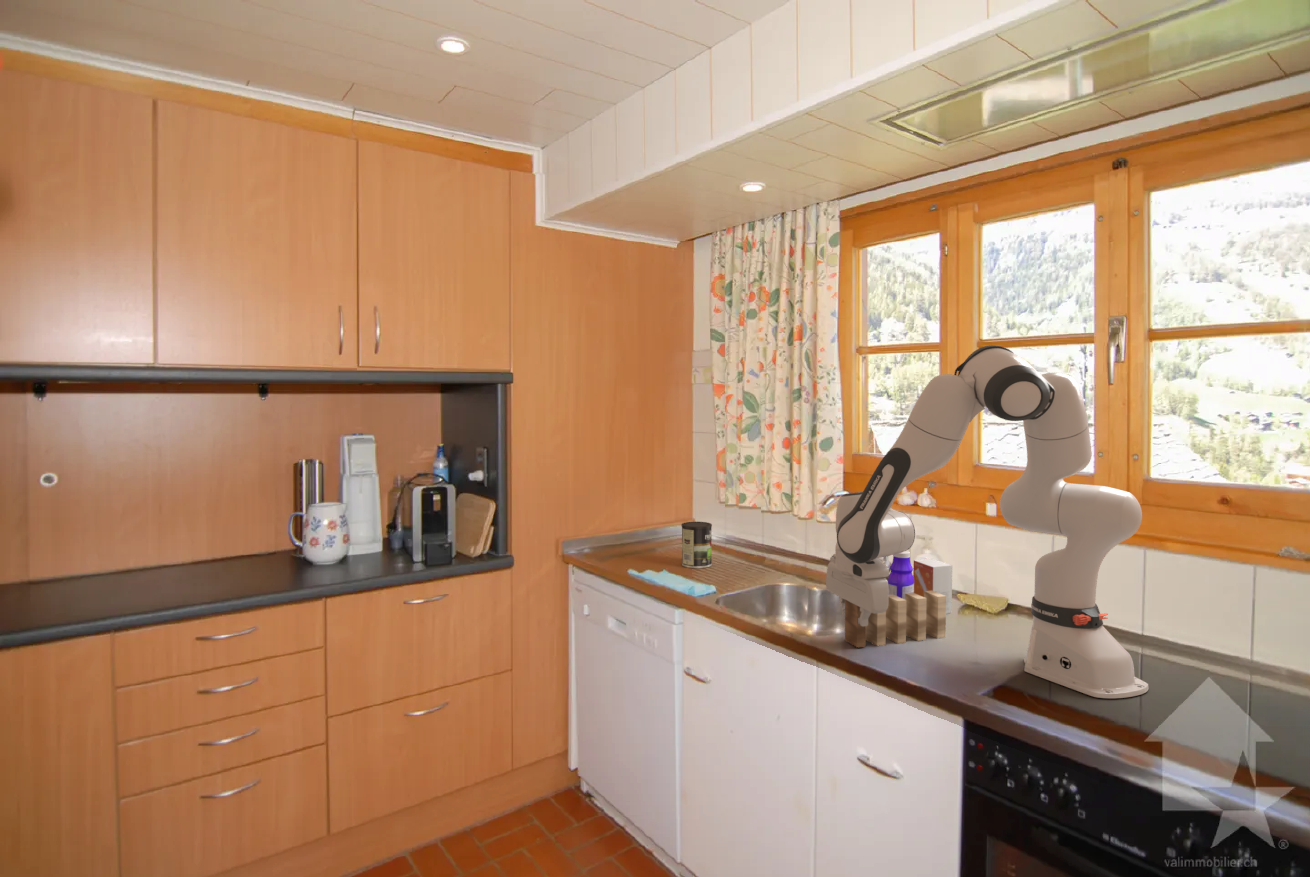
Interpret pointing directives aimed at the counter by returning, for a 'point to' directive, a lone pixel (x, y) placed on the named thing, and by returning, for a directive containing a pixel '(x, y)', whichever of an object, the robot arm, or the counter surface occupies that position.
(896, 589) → the bottle
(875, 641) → the domino
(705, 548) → the coffee can
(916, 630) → the domino
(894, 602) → the domino
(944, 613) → the domino
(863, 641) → the domino
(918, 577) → the small box
